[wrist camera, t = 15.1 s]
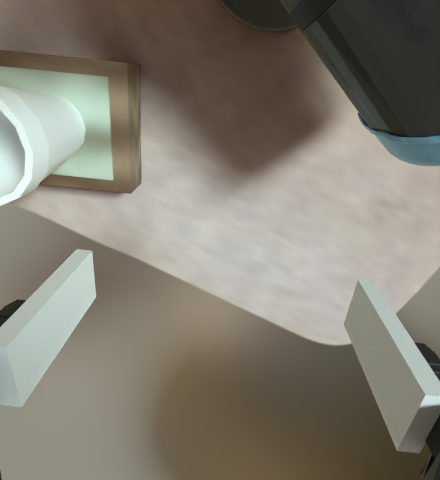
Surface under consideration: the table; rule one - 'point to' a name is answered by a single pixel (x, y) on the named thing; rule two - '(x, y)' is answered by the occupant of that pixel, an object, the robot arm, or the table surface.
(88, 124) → the walnut plinth
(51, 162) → the foam cup
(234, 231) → the table surface
